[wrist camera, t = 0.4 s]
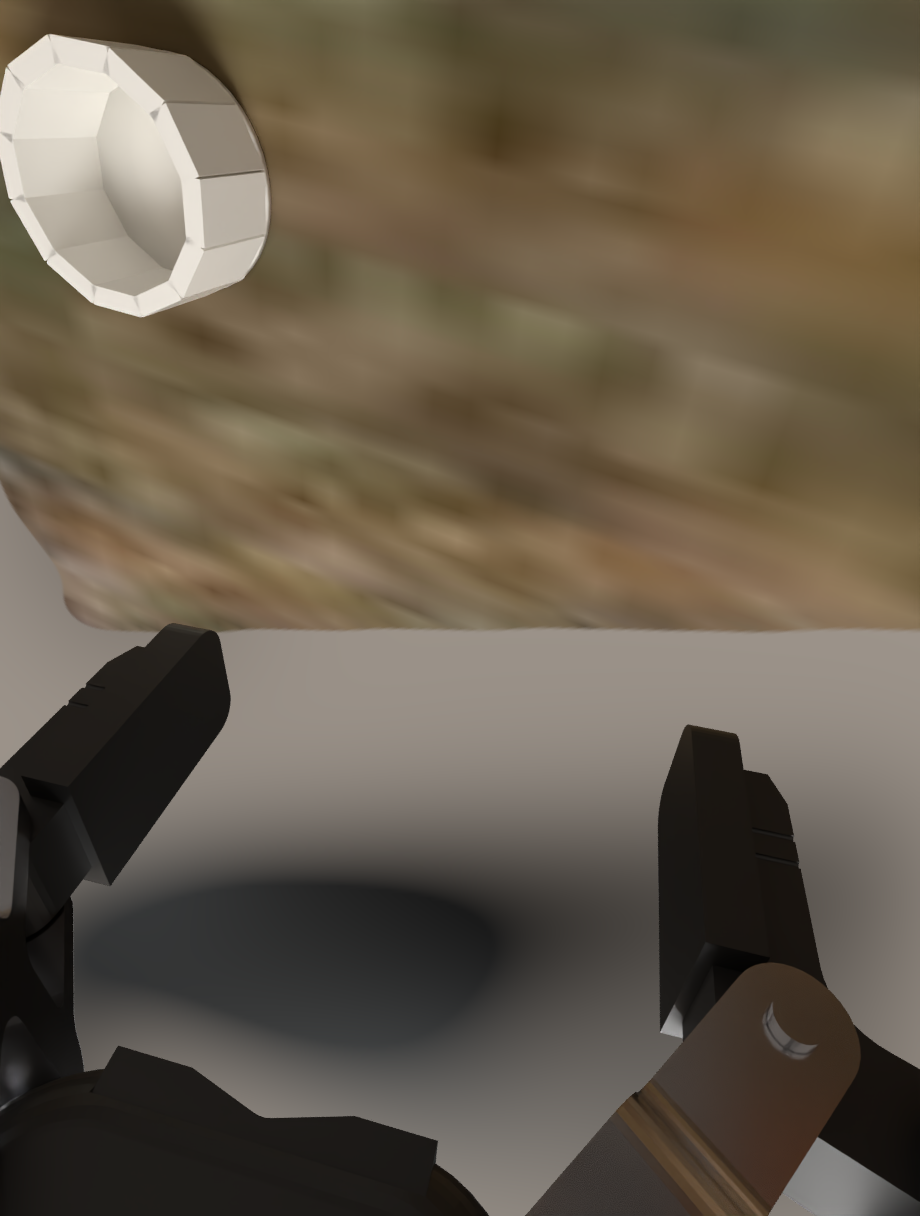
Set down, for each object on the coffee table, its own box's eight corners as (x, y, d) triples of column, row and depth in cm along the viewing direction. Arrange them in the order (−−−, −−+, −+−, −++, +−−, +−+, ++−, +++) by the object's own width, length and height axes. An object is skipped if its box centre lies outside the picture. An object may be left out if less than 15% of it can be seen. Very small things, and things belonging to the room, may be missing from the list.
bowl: (128, -11, 27) (26, -33, 23) (306, 165, 28) (239, 173, 25) (68, 193, 32) (-22, 203, 28) (221, 331, 34) (155, 359, 30)
